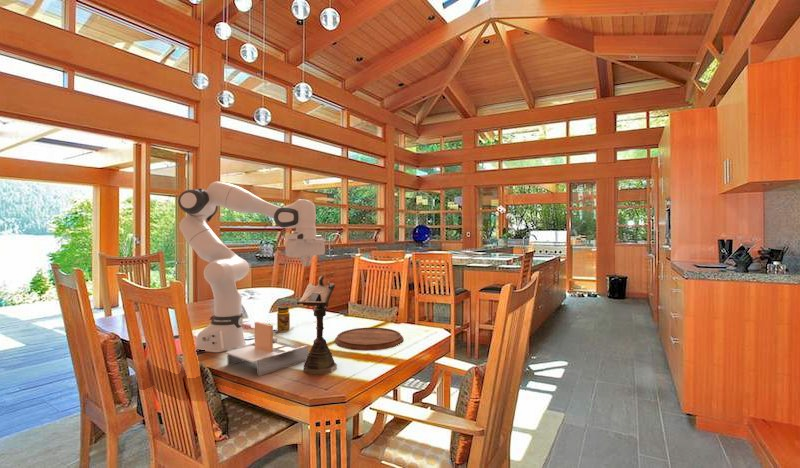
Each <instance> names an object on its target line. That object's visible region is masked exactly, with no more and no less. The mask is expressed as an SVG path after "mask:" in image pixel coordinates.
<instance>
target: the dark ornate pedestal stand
mask: <svg viewBox="0 0 800 468" xmlns="http://www.w3.org/2000/svg"><path fill="white" fill-rule="evenodd" d="M324 278H325V275H324V274H323V275H320V276H319V277H318V284H317V285H314V283H313V282H309V283H308V284H307V286H306V288H305V290H304V293H303V295H302V296H301V298H300V300H298V301H296V305H295V308H297V306H299V305H302V306H303V307H305V306H307V307H308V306H309V307H314V308H313V309H312V311H313V316H314V317H315V319H316V327H315V329H316V338H315V339H314V340H313V344H312V346H311V349H310V350H308V356H307V360H306V361H304V364H303V370H304V371H305V373H306V374H310V375H325V374H329V373H332V372H334V371H335V370H337V368H338V363H337V362H335V360H334V358H333V355H332V354H333V353H332V352H331V349H330V348H329V346H328V344H327V339H325V338H324V334H323V333H324V329H325V327H324V317H326V315H327V311H328V309H327V308H328V307H329V300H330V298H331V295H332V293H333V291H334V289H335V288H336V284H335V283H330V280H328V281H327V283H326V285H324V281H323V280H324Z"/></svg>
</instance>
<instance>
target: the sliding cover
mask: <svg viewBox="0 0 800 468" xmlns="http://www.w3.org/2000/svg"><path fill="white" fill-rule="evenodd" d="M273 330H274V325H273V324H269V323H264V322H260V321H255V322H254V343H255V346H252V345H251V346H247V347H244V348H240V349H236V350H232V351H228V352H227V351H226V352H225V354H226V355H227V354H228V355H231V356H234V357H237V358H240V359H243V360H244V361H245V362H246V361H247V362H249V363H252V364H255V363H257V360H258V359H261V358H265V357H268V356H271V355H275V354H278V353H276V352H273V338H274V331H273Z"/></svg>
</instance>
